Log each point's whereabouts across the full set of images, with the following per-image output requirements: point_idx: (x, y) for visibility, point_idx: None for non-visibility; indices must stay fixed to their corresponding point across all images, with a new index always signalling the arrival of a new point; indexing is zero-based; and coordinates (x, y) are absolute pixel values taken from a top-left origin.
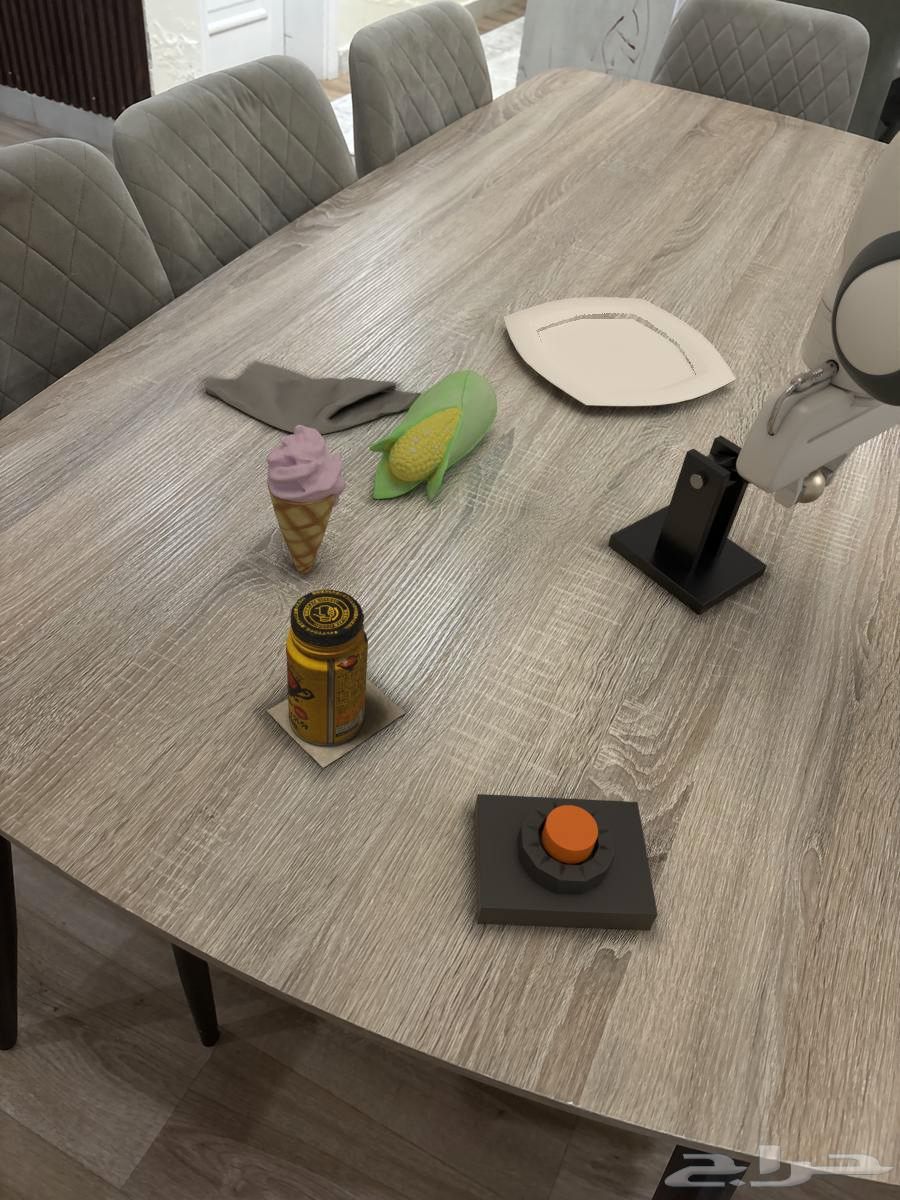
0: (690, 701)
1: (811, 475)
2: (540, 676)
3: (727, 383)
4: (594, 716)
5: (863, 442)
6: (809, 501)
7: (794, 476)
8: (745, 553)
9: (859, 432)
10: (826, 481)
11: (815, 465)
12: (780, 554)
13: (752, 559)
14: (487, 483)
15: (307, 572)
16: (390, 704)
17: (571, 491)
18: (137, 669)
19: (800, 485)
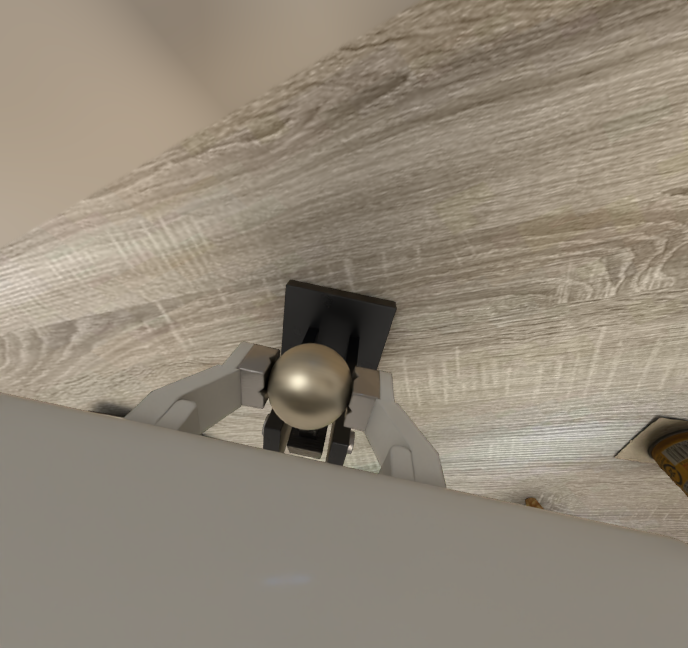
0: (528, 253)
1: (320, 409)
2: (563, 366)
3: (99, 413)
4: (596, 314)
5: (125, 428)
6: (336, 352)
7: (625, 566)
8: (288, 309)
9: (151, 544)
10: (265, 359)
11: (482, 534)
12: (244, 279)
13: (291, 300)
14: (368, 468)
15: (534, 498)
16: (654, 426)
17: (328, 432)
18: (669, 517)
19: (404, 425)
